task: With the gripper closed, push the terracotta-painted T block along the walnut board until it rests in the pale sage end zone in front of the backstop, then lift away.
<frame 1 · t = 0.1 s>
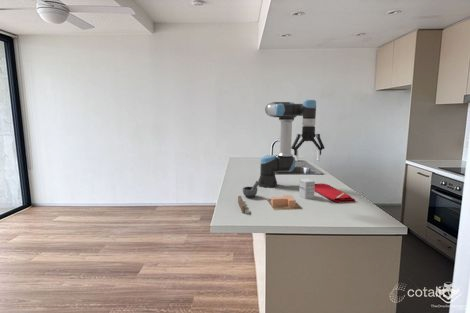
hand: (307, 160, 179), 28 cm above the counter, fingers open, 13 cm apart
supplement box: (306, 198, 195), on the counter
board: (270, 206, 178), on the counter
mortar and pestle: (250, 198, 195), on the counter
dish drying mat: (329, 194, 207), on the counter
tee: (289, 204, 179), point 1 cm above the counter, touching board
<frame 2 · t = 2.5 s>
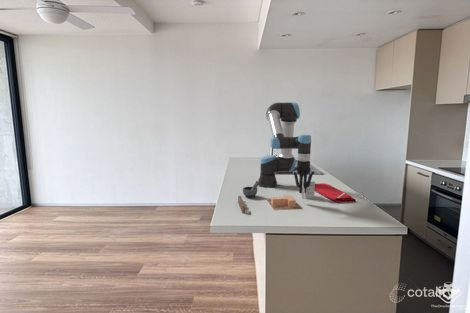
hand: (302, 198, 179), 5 cm above the counter, fingers closed
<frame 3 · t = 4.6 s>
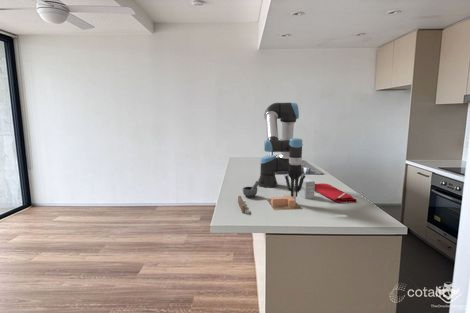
hand: (293, 201, 179), 3 cm above the counter, fingers closed
tee: (289, 204, 179), point 1 cm above the counter, touching gripper
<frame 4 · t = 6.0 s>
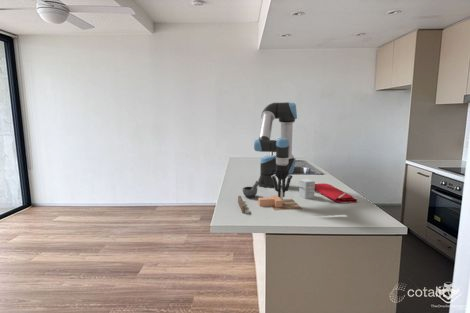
hand: (281, 202, 179), 3 cm above the counter, fingers closed
tee: (276, 204, 178), point 1 cm above the counter, touching gripper
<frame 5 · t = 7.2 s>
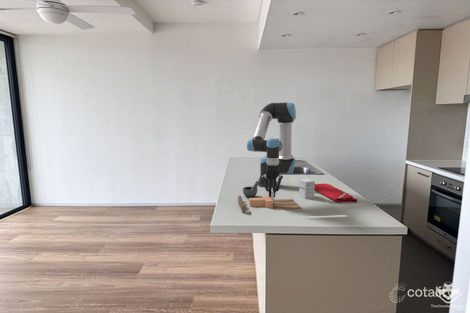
hand: (271, 202, 178), 3 cm above the counter, fingers closed
tee: (267, 204, 178), point 1 cm above the counter, touching gripper
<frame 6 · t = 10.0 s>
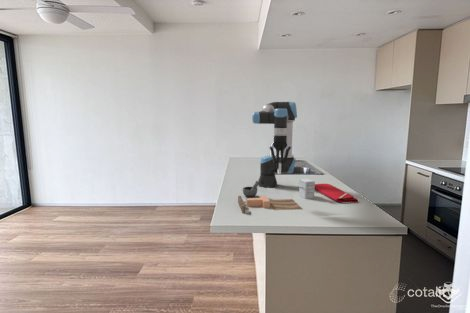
hand: (279, 173, 176), 20 cm above the counter, fingers closed
tee: (264, 205, 178), point 1 cm above the counter, touching board
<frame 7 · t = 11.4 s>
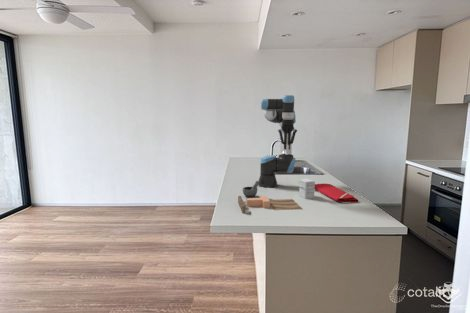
hand: (286, 154, 197), 29 cm above the counter, fingers closed
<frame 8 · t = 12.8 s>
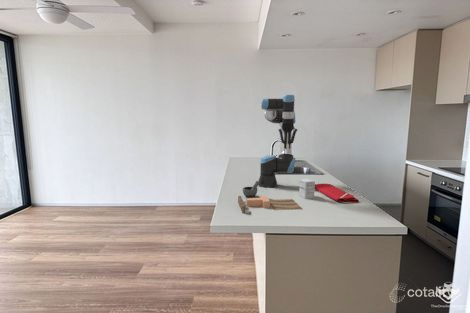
hand: (286, 153, 197), 29 cm above the counter, fingers closed
at the end: tee inside the target area (1.8 cm from its centre), point 1.1 cm above the counter; tee tilted 0° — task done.
